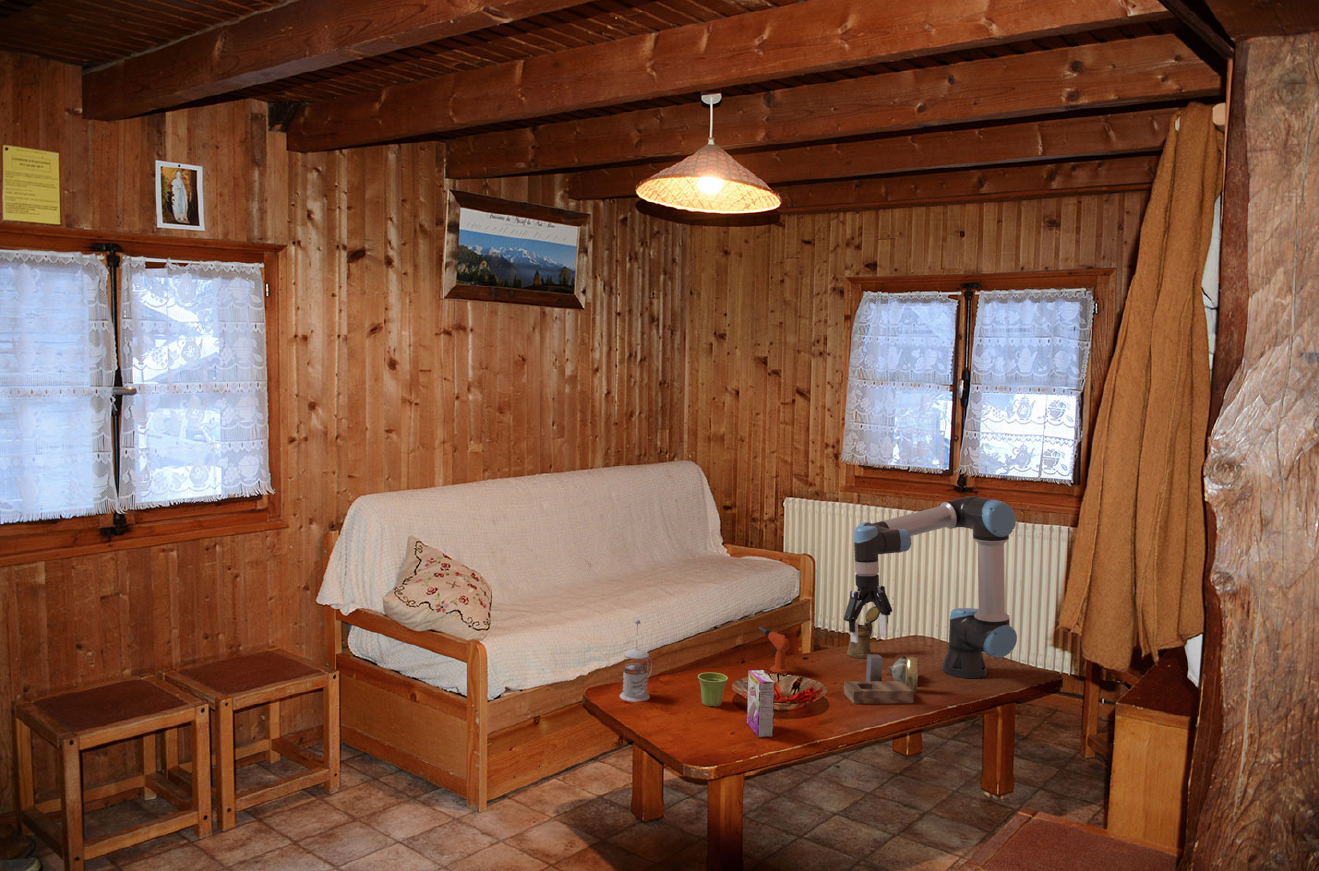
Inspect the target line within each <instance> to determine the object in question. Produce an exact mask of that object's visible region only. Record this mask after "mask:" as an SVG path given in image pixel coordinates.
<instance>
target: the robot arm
mask: <svg viewBox="0 0 1319 871" xmlns="http://www.w3.org/2000/svg"><path fill="white" fill-rule="evenodd" d="M1016 521H1017V517H1016V514H1015V511H1014V509H1013V507H1011V506H1010V505H1009V504H1008V503H1006V502H1003V501H1001V500H998V499H993V498H987V497H981V496H976V495H971V496H970V495H969V496H964V497H959V498H955V499H952V500H948V501H943V502H942V503H940V504H939V505H938V506H936V507H932V508H929V509H925V510H920V511H916V512H912V513H908V514H904V515H900V516H897V517H894V518H889V519H885V520H880V521H877V522H868V521H867V522H866V521H863V522H860V523H859V524H858V525H857V526H856V527H855V528H854V531H853V544H854V545H853V546H854V548H853V549H854V567H855V568H854V572H855V573H856V574H855V576H854V577H855V586H856V587H857V590H856V591H855V590H850V592H849V600H848V604H847V606H846V610H845V613H844V616H843V620H844V621H845V622H848V631H849V635H850V638H851V642H855V643H858V624H859V623H858V621H857V620H858V618H859V616H860V613H861V612H862V610H863V607H864V606H866V604H868V603H873V605H875V606H876V607H877V608H878V610H879V611H880V615H879V617H878V620H879V622H878V623H879V626H878V627H879V635H881V636H882V635H883V636H888V622H889V621H888V620H889V616H890V615H892V614H891V613H892V612H893V607H892V605H891V603H890V601H889V598H888V595H887V593H886V587H885V585H880V575H879V574H878V573H879V572H880V569H879V566H880V565H879V555H888V554H896V553H898V554H899V553H903V552H904V553H905V552H908V551H909V550H910V549H911V546H912V536H913V537H914V536H916V535H920V534H921V535H922V534H924V533H929V532H932V531H936V530H940V529H943V528H944V529H945V528H946V529H949V530H950V529H956V528H965V529H970V530H972V539H973V540H974V541H975V542H976V543H977V577H978V578H977V580H978V581H977V583H978V584H977V585H978V591H977V592H978V593H977V594H978V598H977V599H978V608H975V607H959V608H954V609H952V610H951V611H950V616H949V626H948V627H949V630H948V633H949V634H948V635H949V636H948V647H947V648H948V649H947V651H946V654H945V657H944V659H943V661H942V665H941V666H942V668H941V669H942V671H943V672H944V673H945V674H948V675H951V676H954V677H958V678H963V679H964V678H965V679H981V678H984V677H985V676H987V666H986V663H985V658H984V655H983V653H984V654H986V655H988V656H991V657H993V658H1004V657H1007V656H1008V655H1009V654H1011V652H1012V651H1013V650H1014V648H1015V647H1016V645H1017V641H1018V636H1017V631H1016V629H1014V628H1013V627H1012V626H1011V624H1010V618H1011V617H1010V615H1009V614H1008V613H1007V612H1006V611H1005V610H1006V604H1005V603H1006V602H1005V601H1006V600H1005V598H1006V596H1005V594H1006V593H1005V587H1006V586H1005V544H1006V542H1008V540H1010V539H1009V537H1010V534H1012V533H1013V530H1014V529H1015V528H1016V523H1017V522H1016Z"/></svg>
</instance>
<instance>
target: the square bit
mask: <svg viewBox="0 0 1319 871" xmlns="http://www.w3.org/2000/svg"><path fill="white" fill-rule="evenodd" d="M883 661H884V658H883V657H882V656H881V655H880V654H871V655H867V658H866V671H865V672H866V673H865V681H883V680H882V679H883V663H884V662H883Z"/></svg>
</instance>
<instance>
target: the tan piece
mask: <svg viewBox="0 0 1319 871" xmlns="http://www.w3.org/2000/svg"><path fill="white" fill-rule="evenodd" d="M880 614H881V613H880V611H879V610H878V608H877V607H876V606H871V607H870V608H869V609H868V610H867V611H866V613H865V617H864V618H865V622H864V624H860V623H858V643H855V642H851V637H850V640H849V642H848V643H849V644H848V649H847V652H846V655H847V656H849V657H851V658H855V659H867V655H872V651H871V644H870V642H871V641H870V639H871V637H872V633H873V623H875V621H877V620H879V615H880Z"/></svg>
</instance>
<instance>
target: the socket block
mask: <svg viewBox="0 0 1319 871" xmlns="http://www.w3.org/2000/svg"><path fill="white" fill-rule="evenodd" d="M843 683H844V684H843V695H845V697H846V698H848V700H849V701H850V702H851V703H852V704H855V705H856V704H857V705H859V704H863V705H864V704H865V705H866V704H867V705H868V704H872V705H873V704H914V699H915V698H914V695H915V693H914V691H913V690H912V689H911V688H910V687H908V686H907V685H906V684H905V683H904V682H903V681H895V680H889V681H888V680H887V681H886V680H882V681H866V680H865V681H863V680H861V681H854V680H853V681H848V680H847V681H843Z"/></svg>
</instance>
